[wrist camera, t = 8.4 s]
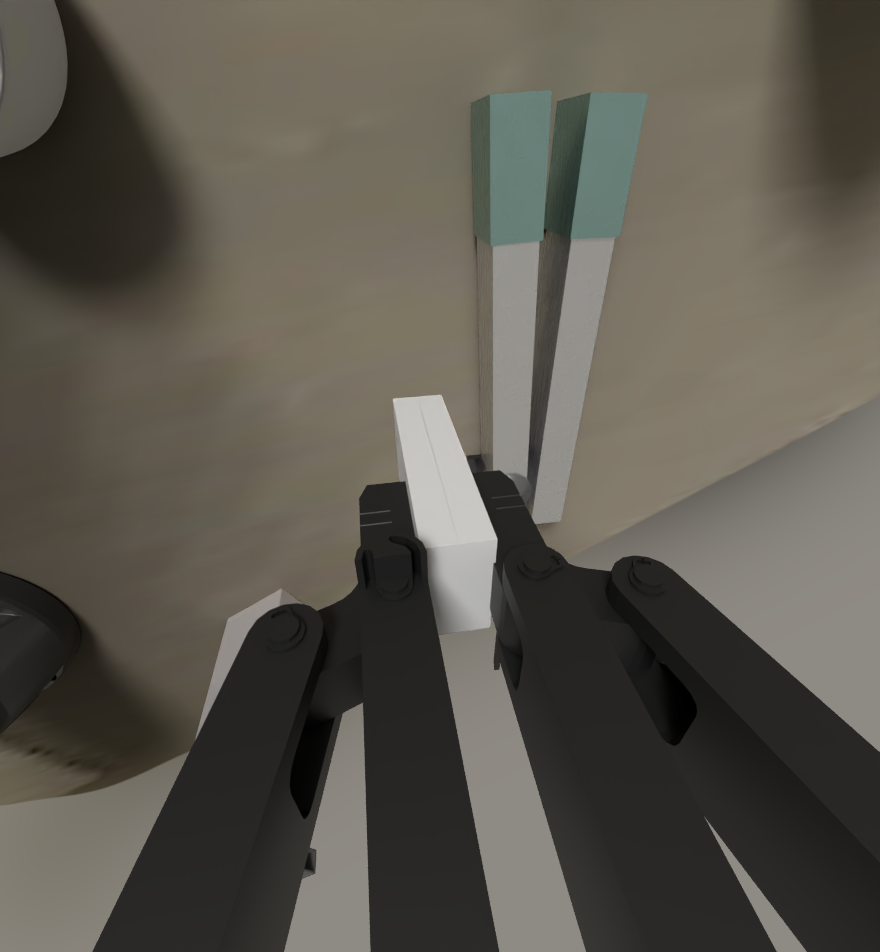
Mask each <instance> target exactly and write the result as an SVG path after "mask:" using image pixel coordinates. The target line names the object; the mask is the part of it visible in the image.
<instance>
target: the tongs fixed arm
mask: <svg viewBox="0 0 880 952" xmlns="http://www.w3.org/2000/svg"><path fill="white" fill-rule="evenodd" d="M647 95H648V93H588V94H584V95H580V96H576V97H572V98H568V99H564V100H561V101H558V102H557V111H556V121H555V130H554V139H553V148H552V157H551V167H550V176H549V185H548V194H547V203H546V213H545V222H544V229H546V234H545V243H544V252H543V261H542V270H541V279H540V288H539V297H538V306H537V315H536V324H535V337H534V355H533V374H532V393H531V411H530V430H529V449H528V468H527V479H528V481H529V482H530V484H531V487H532V493H531V496H530V498H529V500H528V501H527V502H526V503H525V507H527V509H528V511H529V513H530V515H531V517H532V519H533V521H534V523H535V524H541V523H550V522H558V521H561V517H562V512H563V507H564V502H565V497H566V491H567V486H568V481H569V476H570V471H571V465H572V460H573V455H574V450H575V444H576V439H577V434H578V429H579V424H580V418H581V413H582V408H583V403H584V397H585V392H586V387H587V382H588V377H589V371H590V366H591V361H592V356H593V350H594V345H595V340H596V335H597V330H598V324H599V319H600V314H601V309H602V304H603V298H604V293H605V288H606V283H607V277H608V272H609V267H610V262H611V257H612V251H613V246H614V241H615V238H617V237H620V233H621V228H622V223H623V217H624V212H625V207H626V202H627V197H628V192H629V187H630V182H631V177H632V172H633V167H634V162H635V156H636V151H637V146H638V141H639V136H640V131H641V126H642V121H643V116H644V111H645V106H646V101H647ZM480 457H481V455H471V456H467V462H468V465H469V468H470V470H471V473H477V472H478V470H477V463H478V460H479V458H480Z"/></svg>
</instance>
